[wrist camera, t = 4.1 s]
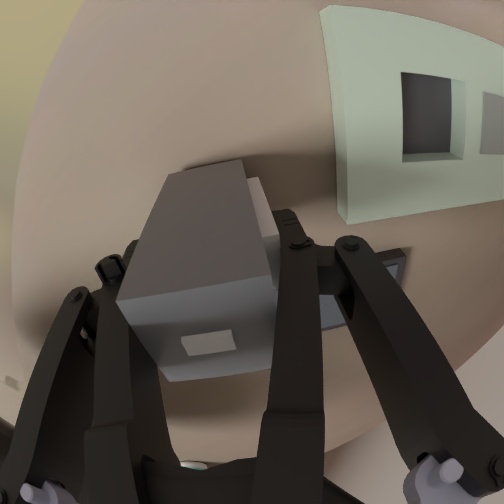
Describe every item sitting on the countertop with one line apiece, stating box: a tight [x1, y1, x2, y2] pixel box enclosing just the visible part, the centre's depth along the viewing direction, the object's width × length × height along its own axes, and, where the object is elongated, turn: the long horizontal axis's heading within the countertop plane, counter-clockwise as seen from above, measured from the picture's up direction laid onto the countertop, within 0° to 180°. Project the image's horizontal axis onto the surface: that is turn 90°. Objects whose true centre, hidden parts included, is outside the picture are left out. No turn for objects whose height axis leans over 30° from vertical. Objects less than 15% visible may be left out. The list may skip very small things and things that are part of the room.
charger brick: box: [115, 159, 277, 382], centre depth 13 cm, size 4×4×11 cm
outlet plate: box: [319, 5, 504, 225], centre depth 15 cm, size 20×14×2 cm
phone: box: [274, 248, 406, 331], centre depth 24 cm, size 14×7×1 cm, turn 99°
